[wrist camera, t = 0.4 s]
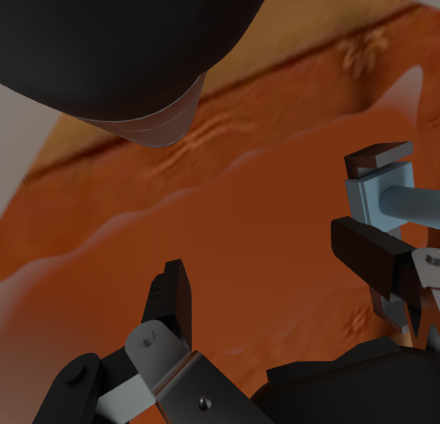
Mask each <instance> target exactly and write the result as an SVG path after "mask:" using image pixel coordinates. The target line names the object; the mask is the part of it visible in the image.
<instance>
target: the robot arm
mask: <svg viewBox="0 0 440 424" xmlns="http://www.w3.org/2000/svg"><path fill="white" fill-rule="evenodd" d="M263 2H264V0H0V84H2V85H4V86H6V87H8V88H10V89H11V90H13V91H15V92H17V93H19V94H21V95H24V96H26V97H28V98H30V99H32V100H35V101H37V102H39V103H42V104H44V105H46V106H49V107H51V108H53V109H56V110H58V111H61V112H63V113H65V114H68V115H70V116H72V117H75V118H77V119H80V120H82V121H84V122H87V123H89V124H92V125H94V126H97V127H99V128H102V129H104V130H106V131H109V132H111V133H114V134H116V135H118V136H121V137H123V138H126V139H128V140H130V141H133V142H135V143H138V144H140V145H143V146H146V147H152V148H161V147H166V146H170V145H172V144H174V143H176V142H177V141H179V140H180V139H181V138H182V137H183V136H184V135H185V134H186V133H187V131H188V130H189V128H190V126H191V123H192V121H193V117H194V115H195V111H196V108H197V104H198V101H199V97H200V94H201V91H202V87H203V84H204V80H205V77H206V74H207V70H209V69H210V68H211V67H213V66H214V65H215V64H217V63H218V62H219V61H220V60H221V59H223V58H224V57H225V56H226V55H227V54H228V53H229V52H230V51H231V50H232V49H233V47H234V46H235V45H236V44H237V43H238V41H239V40H240V39H241V37H242V36H243V34H244V33H245V31H246V30H247V28H248V27H249V25H250V24H251V22H252V20H253V19H254V17H255V15H256V14H257V12H258V10H259V9H260V7H261V5H262V4H263ZM331 247H332V251H333V253H334V255H335V256H336V257H337V258H338V259H340V261H342V262H343V263H344V264H345V265H346V266H347V267H349V268H350V269H351V270H352V271H353V272H354V273H356V274H357V275H358V276H359V277H360V278H362V279H363V280H364V281H365V282H366V283H367V284H368V285H370V286H371V287H372V288H373V289H374V290H375V291H377V292H378V293H379V294H380V295H381V296H382V297H384V298H385V299H386V300H387V301H388V302H389V303H390V302H393V301H397V300H401V299H402V300H404V301H405V307H404V308H405V313H406V318H407V322H408V327H409V331H410V336H411V340H412V345H413V347H405V346H398V345H397V344H396V343H395V342H394V341H393V340H392V339H391V338H390V337H389V336H385V337H381V338H378V339H374V340H371V341H367V342H364V343H360V344H358V345H356V346H355V347H353V348H352V349H351V350H349V351H348V352H346V353H345V354H343V355H342V356H340V357H339V358H337V359H336V360H334V361H301V362H293V363H290V364H286V365H283V366H279V367H275V368H272V369H268V370H266V373H267V378H268V382H267V383H266V384H264V385H263V386H262V387H261V388H259V389H258V390H257V391H256V392H255V393H254V395H253V396H252V397H251V398H250V399H249V398H248V397H247V396H246V395H245V394H244V393H243V392H241V391H240V390H239V389H238V388H237V387H236V386H235V385H234V384H233V383H232V382H231V381H230V380H229V379H228V378H227V377H226V376H225V375H224V374H223V373H222V372H221V371H220V370H218V369H217V368H216V367H215V366H214V365H213V364H212V363H211V362H210V361H209V360H208V359H207V358H206V357H205V356H204V355H203V354H202V353H200V352H199V351H197V350H195V351H194V352H192V294H191V287H190V284H189V280H188V277H187V274H186V271H185V268H184V265H183V262H182V260H181V259H177V260H173V261H169V262H166V264H165V269H164V273H163V274H158V275H157V276H156V277H155V279H154V280H153V281H152V283H151V287H150V292H149V295H148V299H147V302H146V306H145V310H144V314H143V318H142V321H141V325H139V326H138V327H136V328H135V329H134V330H133V331H132V332H131V334H130V335H129V336H128V338H127V340H126V343H125V346H124V347H122V348H121V349H119V350H118V351H115V352H114V353H112V354H110V355H108V356H106V357H105V358H103V359H101V360H100V358H99V357H98V355H97V354H95V353H86V354H83V355H81V356H79V357H77V358H75V359H74V360H72V361H71V362H70V363H68V364H67V365H66V366H65V367H64V368H63V369H62V370H61V371H60V372H59V374H58V375H57V376H56V378H55V380H54V381H53V383H52V385H51V387H50V389H49V391H48V393H47V395H46V397H45V399H44V401H43V403H42V405H41V407H40V409H39V411H38V413H37V415H36V417H35V419H34V421H33V423H32V424H129V421H130V420H131V419H132V418H133V417H135V416H136V415H138V414H139V413H141V412H142V411H144V410H145V409H147V408H148V407H150V406H151V405H153V404H154V403H155V405H156V407H157V408H158V410H159V412H160V413H161V415H162V416H163V418H164V420H165V421H166V423H167V424H440V249H437V248H419V249H417V248H415V247H413V246H411V245H409V244H407V243H405V242H403V241H401V240H399V239H398V238H396V237H394V236H392V235H391V236H390V234H388V233H386V232H384V231H383V232H382V230H380V229H378V228H376V227H374V226H372V225H368V224H364V223H360V222H358V221H356V220H355V219H353V218H351V217H349V216H346V217H342V218H338V219H334V220H332V221H331Z"/></svg>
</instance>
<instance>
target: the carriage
mask: <svg viewBox="0 0 440 424" xmlns="http://www.w3.org/2000/svg"><path fill="white" fill-rule="evenodd" d="M391 165H392V166H389V167H387V168H384V169H382V170H380V171H377V172H375V173H373V174H370V175H368V176H366V177H363V178H361V179H359V180H358V179H348V180H346V181H345V185H346V189H347V194H348V199H349V204H350V209H351V214H352V218H353V219H355V220H356V221H358V222H360V223H364V224H368V225H372V226H374V227H376V228H378V229H380V230H382V232H383V231H384V232H387V231H389V230H392V229H394V228H396V227H398V226H400V225H402V224H405V223H407V222H413V223H417V224H421V225H425V226H428V227H432V228H436V229H440V191H439V190H430V189H421V188H414V182H413V172H412V164H411V162H407V161H405V162H404V161H393V162H391Z"/></svg>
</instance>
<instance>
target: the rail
mask: <svg viewBox="0 0 440 424" xmlns="http://www.w3.org/2000/svg"><path fill="white" fill-rule="evenodd" d="M412 146H413V145H412V141H403V142H392V143H381V144H374V145H372V146H369V147H367V148H364V149H362V150H359V151H357V152H355V153H352V154H350V155H347V156H345V157H344V159H345V164H346V169H347V174H348V179H358V180H359V179H361V178H363V177H366V176H368V175H370V174H373V173H375V172H377V171H380V170H382V169H384V168H387V167H389V166H392V165H391V162H393V161H395V160H398V159H400V158H402V157H405V156H407V155H410V154H412V153H413V147H412ZM386 233H388V234H390V236H391V235H392V236H394V237H396V238H398V239H399V240H401V232H400V226H398V227H396V228H394V229H392V230H389V231H387V232H386ZM401 241H402V240H401ZM369 287H370V292H371V297H372V302H373V307H374V312H375V313H376V314H377V315H378V316H380V317H381V318H382V319H384V320H385V321H386V322H387V323H389V324H390V325H391V326H393V327H394V328H395V329H396V330H398V331H399V332H400V333H402V334H405V333H407V332H409V327H408V322H407V318H406V313H405V308H404V307H405V301H404V300H402V299H401V300H397V301H393V302H390V303H389V302H388V301H387V300H386V299H385V298H384V297H382V296H381V295H380V294H379V293H378V292H377V291H375V290H374V289H373V288H372V287H371V286H370V285H369Z"/></svg>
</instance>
